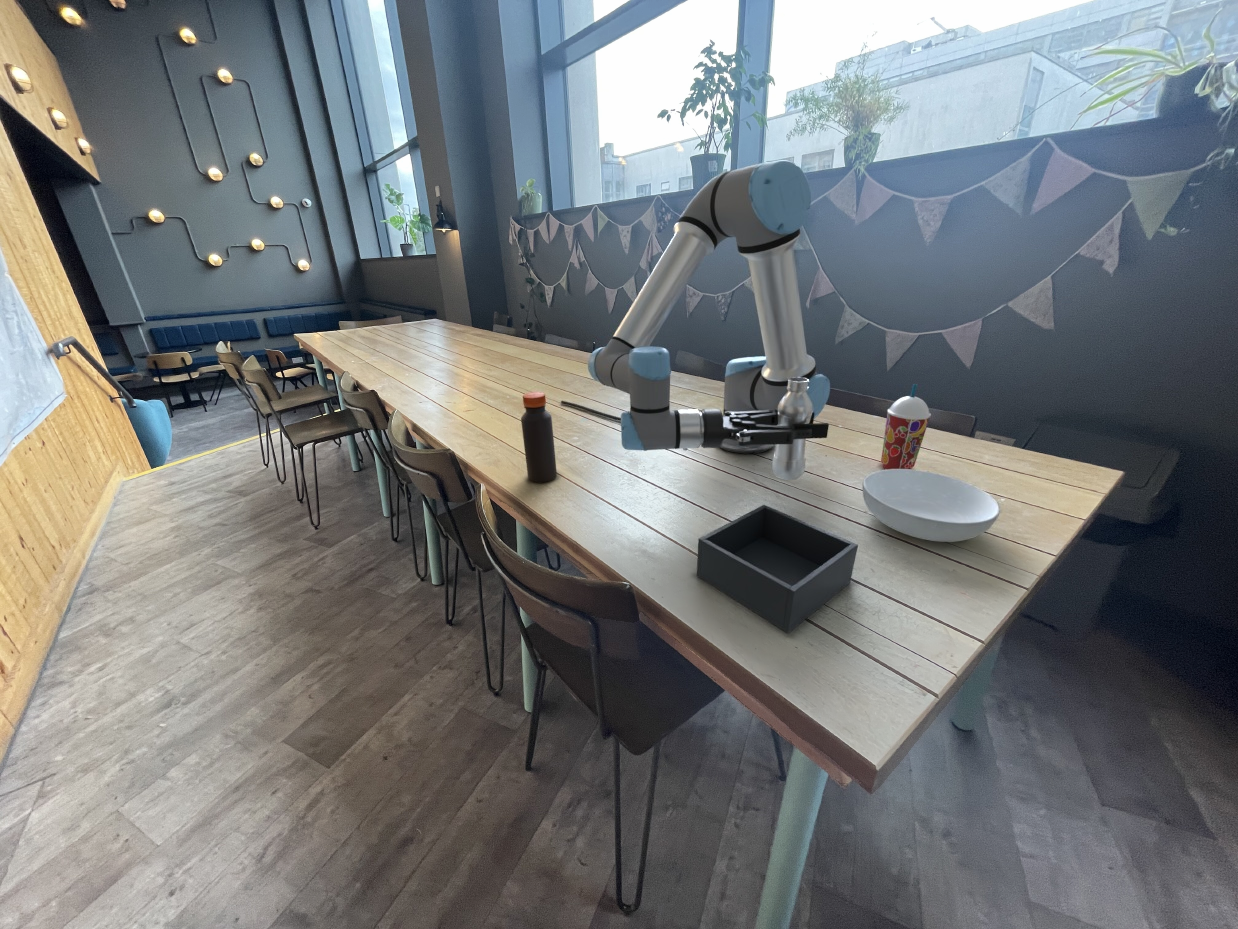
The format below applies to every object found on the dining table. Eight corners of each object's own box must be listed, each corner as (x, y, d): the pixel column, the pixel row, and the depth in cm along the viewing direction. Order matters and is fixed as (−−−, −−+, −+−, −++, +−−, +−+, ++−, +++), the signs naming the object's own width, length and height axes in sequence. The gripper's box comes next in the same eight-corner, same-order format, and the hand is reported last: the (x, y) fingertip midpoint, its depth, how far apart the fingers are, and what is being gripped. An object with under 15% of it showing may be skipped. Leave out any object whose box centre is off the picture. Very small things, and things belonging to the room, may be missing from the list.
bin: (696, 575, 75) (698, 538, 72) (760, 538, 84) (763, 504, 82) (787, 633, 63) (794, 591, 60) (850, 583, 72) (858, 544, 69)
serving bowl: (936, 571, 74) (946, 534, 72) (832, 512, 92) (838, 481, 89) (1016, 539, 82) (1029, 504, 79) (906, 490, 99) (913, 461, 97)
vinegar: (540, 485, 107) (531, 400, 99) (522, 478, 111) (512, 395, 103) (562, 476, 111) (555, 394, 103) (544, 468, 116) (536, 389, 108)
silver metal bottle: (803, 471, 97) (816, 376, 89) (804, 485, 91) (817, 384, 83) (771, 468, 99) (780, 374, 91) (769, 482, 93) (779, 383, 85)
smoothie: (922, 476, 105) (944, 389, 97) (882, 474, 107) (900, 388, 99) (909, 462, 113) (928, 380, 105) (871, 460, 114) (888, 379, 106)
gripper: (692, 430, 101) (799, 426, 101) (708, 466, 84) (838, 461, 83) (693, 396, 98) (804, 392, 98) (710, 426, 81) (844, 421, 80)
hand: (819, 424), depth 91 cm, fingers closed on silver metal bottle, 6 cm apart
